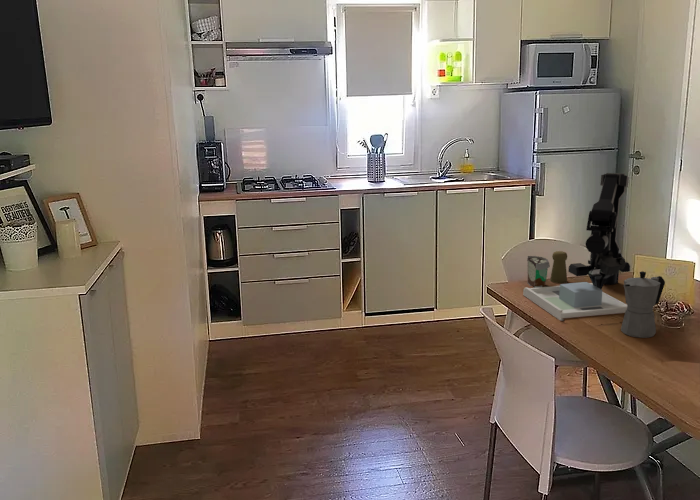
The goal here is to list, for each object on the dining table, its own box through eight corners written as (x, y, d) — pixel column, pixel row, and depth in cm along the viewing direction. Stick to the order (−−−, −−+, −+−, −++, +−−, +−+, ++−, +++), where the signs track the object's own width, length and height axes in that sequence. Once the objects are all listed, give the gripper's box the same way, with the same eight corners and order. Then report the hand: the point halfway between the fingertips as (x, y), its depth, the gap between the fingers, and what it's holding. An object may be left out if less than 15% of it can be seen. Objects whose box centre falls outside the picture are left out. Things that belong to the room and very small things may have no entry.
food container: (553, 291, 221) (554, 263, 219) (535, 292, 221) (536, 264, 219) (543, 281, 233) (544, 255, 231) (526, 281, 233) (527, 255, 231)
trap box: (593, 289, 222) (594, 280, 222) (639, 313, 197) (639, 304, 196) (523, 295, 218) (523, 286, 218) (560, 320, 193) (561, 311, 192)
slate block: (585, 296, 213) (586, 281, 211) (601, 304, 204) (602, 289, 202) (559, 298, 211) (559, 284, 210) (574, 307, 202) (574, 292, 201)
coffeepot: (634, 341, 175) (639, 279, 171) (608, 331, 184) (612, 271, 179) (674, 332, 181) (679, 271, 177) (646, 322, 190) (651, 263, 186)
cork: (565, 278, 236) (566, 249, 234) (569, 283, 230) (570, 253, 228) (548, 278, 237) (549, 249, 234) (551, 283, 231) (553, 253, 228)
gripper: (587, 254, 195) (584, 303, 199) (642, 249, 198) (639, 297, 202) (568, 246, 206) (566, 293, 209) (621, 242, 209) (618, 288, 212)
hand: (597, 293), depth 208 cm, fingers closed
